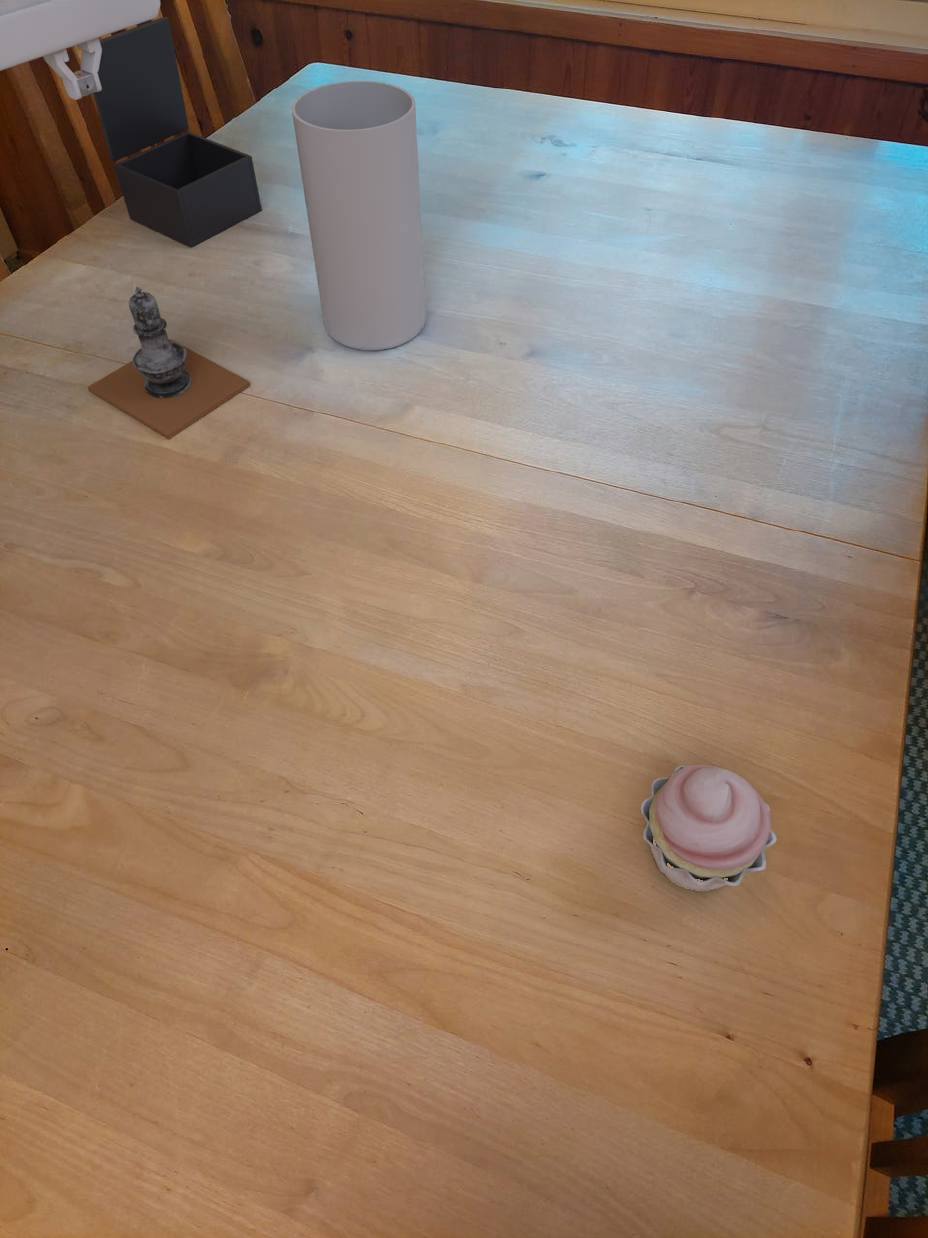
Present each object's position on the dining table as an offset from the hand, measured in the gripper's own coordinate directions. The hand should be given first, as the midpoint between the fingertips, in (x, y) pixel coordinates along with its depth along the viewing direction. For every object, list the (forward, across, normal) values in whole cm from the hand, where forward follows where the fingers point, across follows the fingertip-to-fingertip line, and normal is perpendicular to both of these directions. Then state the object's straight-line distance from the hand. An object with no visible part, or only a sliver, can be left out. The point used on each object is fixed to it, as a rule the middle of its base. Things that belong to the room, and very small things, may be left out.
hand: (85, 94), depth 89 cm
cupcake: (+26, +18, +85) cm, 91 cm away
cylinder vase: (+27, -18, +19) cm, 38 cm away
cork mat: (+27, +6, +10) cm, 29 cm away
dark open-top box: (+27, -22, -20) cm, 40 cm away
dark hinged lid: (+12, -22, -25) cm, 36 cm away
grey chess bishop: (+26, +6, +10) cm, 29 cm away
